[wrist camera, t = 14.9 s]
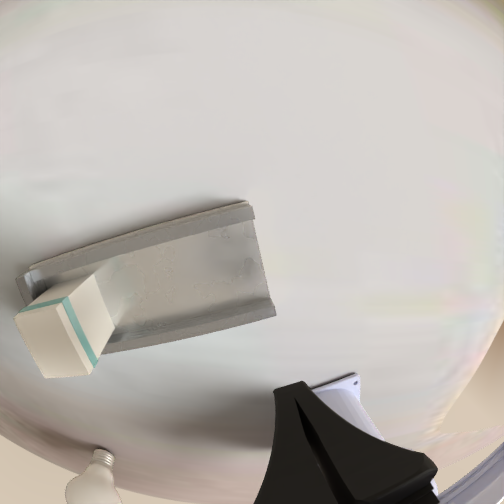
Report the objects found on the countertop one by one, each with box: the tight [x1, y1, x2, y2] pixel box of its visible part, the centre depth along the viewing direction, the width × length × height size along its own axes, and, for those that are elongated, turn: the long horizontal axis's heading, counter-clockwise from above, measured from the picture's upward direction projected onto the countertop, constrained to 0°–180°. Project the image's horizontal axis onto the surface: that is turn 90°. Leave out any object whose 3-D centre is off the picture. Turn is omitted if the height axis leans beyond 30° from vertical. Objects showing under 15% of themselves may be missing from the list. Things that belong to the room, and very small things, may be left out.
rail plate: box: [16, 201, 277, 355], centre depth 18 cm, size 8×18×3 cm, turn 103°
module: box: [13, 274, 115, 378], centre depth 16 cm, size 5×4×6 cm
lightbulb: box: [65, 449, 122, 504], centre depth 18 cm, size 6×6×11 cm
